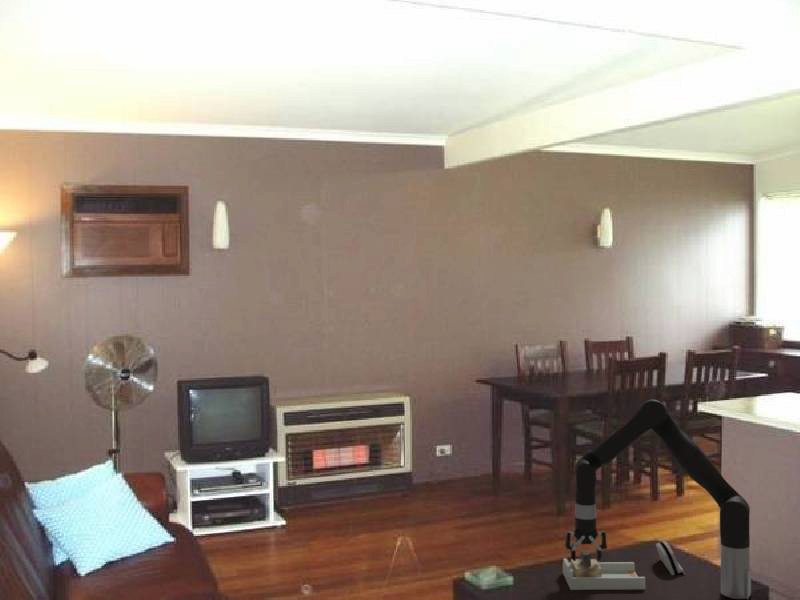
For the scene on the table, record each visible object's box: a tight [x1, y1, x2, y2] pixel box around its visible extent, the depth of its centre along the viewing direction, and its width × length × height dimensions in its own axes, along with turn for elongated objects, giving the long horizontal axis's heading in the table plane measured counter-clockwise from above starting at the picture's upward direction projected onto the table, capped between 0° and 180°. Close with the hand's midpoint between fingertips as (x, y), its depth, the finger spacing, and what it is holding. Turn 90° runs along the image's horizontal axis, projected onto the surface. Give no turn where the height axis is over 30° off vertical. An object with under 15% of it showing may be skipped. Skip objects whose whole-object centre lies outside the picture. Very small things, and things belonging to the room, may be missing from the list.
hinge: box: [655, 540, 686, 576], centre depth 312 cm, size 17×5×10 cm, turn 176°
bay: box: [562, 557, 646, 591], centre depth 299 cm, size 26×16×6 cm, turn 88°
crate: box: [570, 550, 602, 577], centre depth 299 cm, size 9×10×9 cm
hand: (585, 560), depth 299 cm, fingers open, 8 cm apart
